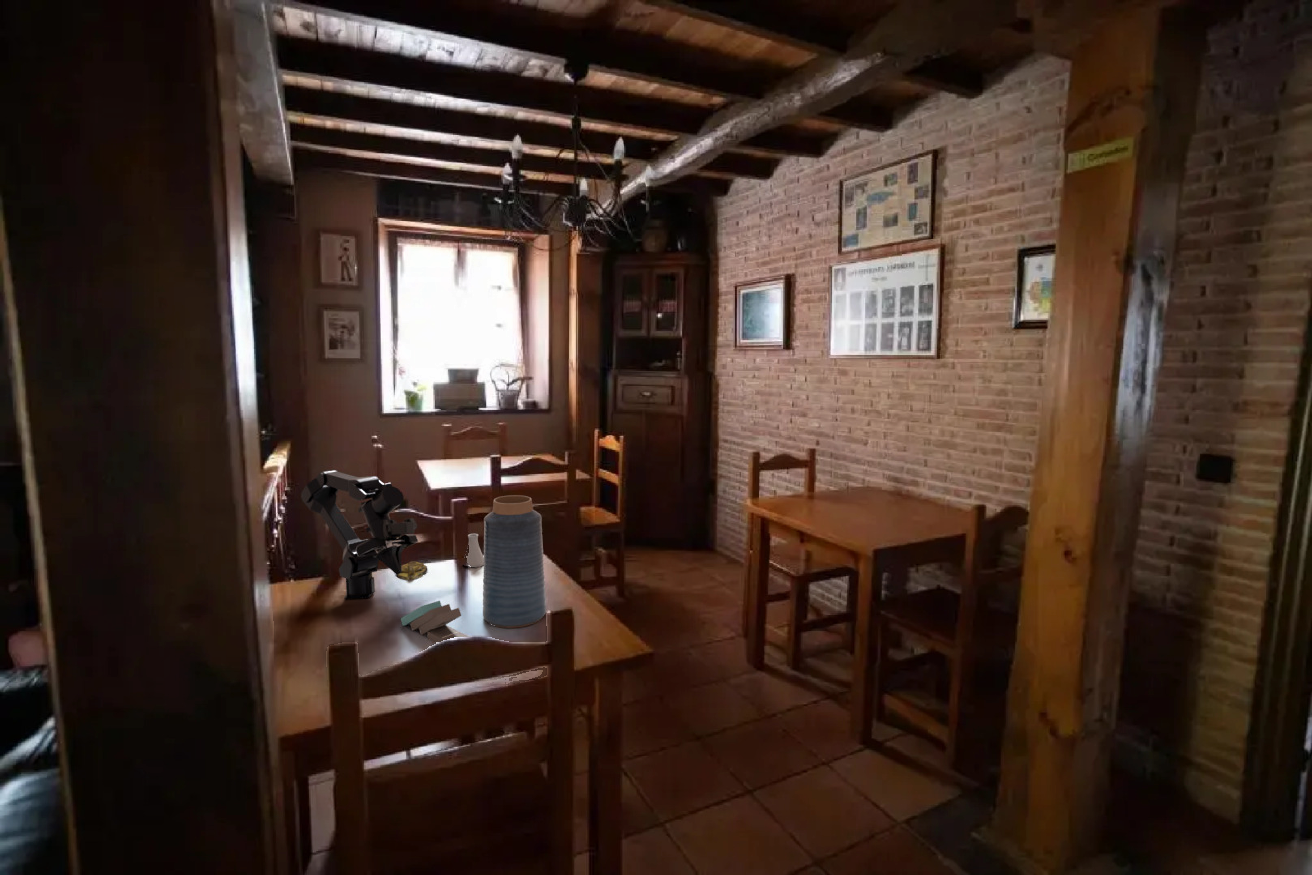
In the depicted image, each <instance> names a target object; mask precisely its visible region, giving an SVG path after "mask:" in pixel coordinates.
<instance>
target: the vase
mask: <svg viewBox="0 0 1312 875" xmlns="http://www.w3.org/2000/svg"><path fill="white" fill-rule="evenodd" d="M542 521H543V520H542V515H541V513H539V512H538V511H536V510H534V506H533V500H532V498H531V497H529V496H526V495H520V494H519V495H515V494H514V495H512V494H511V495H504V496H503V495H502V496H498V497H496V498H494V499H493V503H492V511H490V512H489V513H488V514H487V515H485V516H484V518H483V524H484V525H483V528H484V529H483V541H484V542H483V557H484V565H483V579H482V582H483V584H482V586H483V587H482V617H483V619H484V620H485V621H486V623H488V624H489V625H491V624H492V625H491V626H493V625H495V626H494V627H497V626H498V628H505V629H513V628H514V629H515V628H522V627H527V626H531V625H533V624H536V623H537V622H539V621H540V620H541V619H542V618H543V617H544V616H545V614H546V613H547V602H546V597H547V596H546V587H545V586H546V581H545V578H546V577H545V567H544V566H545V565H544V547H543V534H542V533H543V526H542V524H543V523H542Z"/></svg>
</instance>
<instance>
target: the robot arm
mask: <svg viewBox="0 0 1312 875" xmlns="http://www.w3.org/2000/svg"><path fill="white" fill-rule="evenodd" d="M303 488H304V489H303V490H302V491H301V495H300V497H301V501H302V502H303V503H304V505H305V506H306V507H307V508H308V509H309V510H310V511H312V512H315V513H316V514H319V515H320V517H321V518H322V520H323V521H324V523H325V524H326V526H327V527H328V529H329V530H330V531H331V533H332V534H333V536H334V537H335V539H336V540H337V542H338V544H339V545H340V547H341V549H342V551H343V554H342V561H343V562H342V564H341V565H340V566H339V568H338V572H339V576H340V577H341V578H343V579H345V590H346V595H345V596H344V599H345V600H347V599H348V600H350V599H351V600H353V599H354V600H356V599H369V598H370V597H371V596H372V594H374V592H375V590H376V588H375V587H376V585H375V577H374V576H373V573H375V572H378V567H379V562H381V563H382V564H384V565H385V566H386V567H387V568H389V570H391V571H392V572H393V573H394V574H395V576H396V575H398V574H401V573H402V569H401V566H402V554H403V551H404V550H406V548H409V547H411V546H413V545H414V544H417V543H418V542H419V540H418V537H417V535H416V534H415V530H416V529H417V528H418V523H417V522H416V521H415V518H405V519H404V520H403V521H402V522H397V521H396V520H395V519H394V518H391V517H390V514H391V513H392V512H393V511H394V510H395V509H396V508H398V507H400V506H401V505H402V503H403V502H404V497H405V495H404V493H403V492H402V491H401V490H400V489H399V488H397V487H396V486H393V484H392V483H391V482H388V483H384V482H382V481H381V480H380V478H378V476H362V477H359V476H355V475H350V474H347V473H344V472H339V471H338V470H335V469H332V470H326V471H321V472H319V473H318V474H317V475H316V476H315V478H314V479H312V480H311V481H309V482H308V483H307V484H306V485H305V487H303ZM339 491H344V492H347V493H348V497H350V498H352V499H353V500H355V501H357V502H358V501H363V502H361V503H360V506H359V508H358V513H363V515H364V518H365V521H366V523H367V526H368V527H367V528H365V531H366V533H370V534H371V537H370V538H366V539H361V538H359V536H358V535H357V534H356V531H355V530H354V528H352V526H351V524H350V522H349V521H348V520H347V518H346V517H345V516H344V514H343V513H337V512H342V511H341V509H340V508H339V506H338V504H337V497H338V494H337V493H338V492H339ZM368 499H369V500H368ZM364 500H367V501H364ZM341 514H343V515H341ZM344 518H345V521H344Z"/></svg>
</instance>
